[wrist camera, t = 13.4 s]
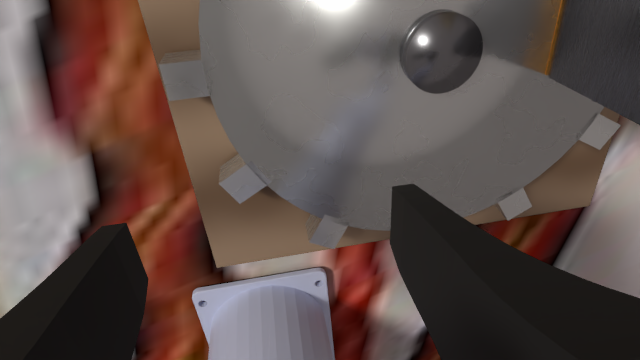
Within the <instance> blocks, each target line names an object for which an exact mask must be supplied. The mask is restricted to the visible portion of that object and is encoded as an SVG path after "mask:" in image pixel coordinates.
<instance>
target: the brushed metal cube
mask: <svg viewBox="0 0 640 360" xmlns="http://www.w3.org/2000/svg"><path fill="white" fill-rule="evenodd" d="M548 78H550V79H552V80H554V81H556V82H558V83H560V84H562V85H564V86H566V87H568V88H570V89H571V90H573V91H575V92H577V93H579V94H581V95H583V96H585V97H587V98H589V99H591V100H593V101H595V102H597V103H599V104H600V105H602V106H604V107H606V108H608V109H610V110H612V111H614V112H616V113H618V114H620V115H622V116H624V117H626V118H627V119H629V120H631V121H633V122H635V123H637V124H639V125H640V0H565V2H564V7H563V11H562V16H561V20H560V25H559V29H558V34H557V38H556V43H555V47H554V52H553V56H552V61H551V65H550V70H549V74H548Z"/></svg>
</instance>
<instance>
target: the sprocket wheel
mask: <svg viewBox="0 0 640 360" xmlns="http://www.w3.org/2000/svg"><path fill="white" fill-rule="evenodd" d="M564 2H565V0H200V5H199V23H198V24H199V37H200V50H191V51H183V52H174V53H165V55H164V56H163V58H162V60H161V61H160V63H159V68H160V71H161V75H162V78H163V82H164V85H165V89H166V92H167V96H168V99H169V101H175V100H182V99H190V98H198V97H206V96H210V97H211V100H212V103H213V106H214V108H215V111H216V114H217V117H218V119H219V121H220V123H221V125H222V127H223V129H224V130H225V132H226V134H227V136H228V138H229V140H230V142H231V143H232V145H233V146H234V148H235V149H236V151H237V152H238V153H239V154H237V155H236V156H234V157H233V158H232V159H230V160H229V161H228V162H226V163H225V164H223V165H222V166H221V167H220V176H219V185H220V186H222V187H223V188H224V189H225V190H226V191H227V192H228V193H229V194H230V195H231V196H232V197H233V198H234V199H235V200H236V201H237V202H238V203H239V204H241V203H242V202H244V201H245V200H247V199H248V198H249V197H251V196H252V195H254V194H255V193H257V192H258V191H260V190H261V189H263V188H264V187H265V186H268V187H270V188H271V189H272V190H273V191H274V192H276V193H277V194H278V195H279V196H280V197H282V198H284V199H285V200H287V201H288V202H290V203H292V204H293V205H295V206H296V207H298V208H300V209H302V210H304V211H306V212H308V213H310V216H309V218H308V220H307V222H306V229H307V234H308V239H309V243H313V244H317V245H320V246H324V247H328V248H332V249H334V248H335V247H336V245H337V243H338V242H339V240H340V238H341V237H342V235H343V234H344V232H345V230H346V229H347V227H348V226H350V227H355V228H360V229H368V230H382V231H390V227H391V202H392V186H399V185H407V184H415V185H416V186H418V187H419V188H421V189H422V190H424V191H425V192H426V193H428V194H429V195H431V196H432V197H434V198H435V199H436V200H438V201H439V202H441V203H442V204H444V205H445V206H446V207H448V208H449V209H451V210H452V211H454V212H455V213H457V214H458V215H460V216H461V217H466V216H469V215H472V214H475V213H477V212H479V211H481V210H483V209H485V208H488V207H490V206H492V205H494V206H495V207H496V208H497V209H498V210H499V211H500V212H501V214H502V215H503V216H504V217H505V218H506V219H507V220H510V219H512V218H514V217H515V216H517V215H519V214H520V213H522V212H524V211H526V210H527V209H529V208H531V207H532V205H531V203H530V201H529V199H528V197H527V195H526V192H525V190H524V188H523V187H524V186H526V185H527V184H529V183H530V182H532V181H533V180H534V179H536V178H537V177H539V176H540V175H541V174H542V173H543V172H545V171H546V170H547V169H548V168H549V167H551V166H552V165H553V164H554V163H555V162H557V161H558V160H559V159H560V158H561V157H562V156H563V155H564V154H565V153H566V152H567V151H568V150H569V149H570V148H571V147H572V146H573V145H574V144H575V143H576V142H577V141H578V140H580V141H582V142H584V143H586V144H589V145H591V146H593V147H595V148H597V149H599V150H600V149H601V148H602V147H603V146H604V145H605V143H606V142H607V141H608V140H609V139H610V138H611V136H612V135H613V134H614V133H615V132H616V131H617V129H618V128H619V127H620V126H621V125H619V124H617V123H616V122H614V121H612V120H610V119H608V118H606V117H605V116H603V115H601V114H600V113H601V111H602V110H603V108H604V106H602V105H600V104H599V103H597V102H595V101H593V100H591V99H589V98H587V97H585V96H583V95H581V94H579V93H577V92H575V91H573V90H571V89H570V88H568V87H566V86H564V85H562V84H560V83H558V82H556V81H554V80H552V79H550V78H548V74H549V70H550V65H551V61H552V56H553V52H554V47H555V43H556V38H557V34H558V29H559V25H560V20H561V16H562V11H563V7H564Z"/></svg>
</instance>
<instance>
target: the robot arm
mask: <svg viewBox="0 0 640 360" xmlns="http://www.w3.org/2000/svg"><path fill="white" fill-rule="evenodd" d="M390 245H391V248H392V251H393V254H394V257H395V260H396V263H397V266H398V269H399V271H400V274H401V276H402V278H403V280H404V282H405V285H406V287H407V289H408V291H409V293H410V295H411V297H412V299H413V301H414V303H415V305H416V307H417V309H418V311H419V313H420V315H421V317H422V319H423V321H424V323H425V325H426V327H427V329H428V331H429V333H430V335H431V338H432V340H433V342H434V344H435V346H436V349H437V351H438V353H439V355H440V358H441V360H640V298H637V297H634V296H631V295H628V294H625V293H622V292H619V291H616V290H613V289H610V288H607V287H604V286H601V285H599V284H596V283H593V282H590V281H588V280H585V279H582V278H580V277H577V276H575V275H573V274H570V273H568V272H565V271H563V270H560V269H558V268H555V267H553V266H551V265H549V264H546V263H544V262H542V261H540V260H538V259H536V258H534V257H532V256H530V255H528V254H526V253H523V252H521V251H519V250H517V249H515V248H513V247H512V246H510V245H508V244H506V243H504V242H502V241H501V240H499V239H497V238H495V237H494V236H492V235H490V234H489V233H487V232H485V231H483V230H482V229H480V228H478V227H477V226H475V225H474V224H472V223H470V222H469V221H467V220H466V219H464V218H463V217H461V216H460V215H458V214H457V213H455V212H454V211H452V210H451V209H449V208H448V207H446V206H445V205H444V204H442V203H441V202H439V201H438V200H436V199H435V198H434V197H432V196H431V195H429V194H428V193H426V192H425V191H424V190H422V189H421V188H419V187H418V186H416V185H415V184H407V185H399V186H392V202H391V227H390ZM316 281H320V282H316ZM147 286H148V277H147V274H146V272H145V269H144V267H143V264H142V262H141V259H140V257H139V254H138V252H137V249H136V246H135V244H134V241H133V239H132V236H131V234H130V231H129V229H128V226H127V223H122V224H115V225H108V226H102V227H101V228H100V229H98V230H97V231H96V232H95V233H94V234H93V235H92V236H91V237H90V238H88V239H87V240H86V241H85V242H84V243H83V244H82V245H81V246H80V247H79V248H78V249H77V250H76V251H75V252H74V253H73V254H72V255H71V256H70V257H69V258H68V259H66V260H65V261H64V262H63V263H62V264H61V265H60V266H59V267H58V268H57V269H56V270H55V271H54V272H53V273H52V274H51V275H49V276H48V277H47V278H46V279H45V280H44V281H43V282H42V283H41V284H40V285H39V286H37V287H36V288H35V289H34V290H33V291H32V292H31V293H29V294H28V295H27V296H26V297H25V298H24V299H23V300H21V301H20V302H19V303H18V304H17V305H16V306H15V307H13V308H12V309H11V310H10V311H9V312H8V313H7V314H5V315H4V316H3V317H2V318H0V360H131V359H132V355H133V351H134V348H135V344H136V341H137V337H138V333H139V330H140V326H141V322H142V319H143V315H144V309H145V302H146V294H147ZM192 300H193V302H194V305H195V308H196V311H197V314H198V316H199V319H200V322H201V325H202V327H203V330H204V333H205V336H206V339H207V341H208V344H209V356H208V360H335V356H334V346H333V336H332V326H331V317H330V307H329V297H328V287H327V277H326V272H325V270H324V269H323V268H312V269H306V270H300V271H295V272H289V273H283V274H277V275H271V276H265V277H259V278H253V279H247V280H242V281H236V282H230V283H224V284H218V285H212V286H206V287H200V288H197V289H195V290H194V291H193V294H192ZM201 301H205V302H201Z"/></svg>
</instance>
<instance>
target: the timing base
mask: <svg viewBox="0 0 640 360" xmlns="http://www.w3.org/2000/svg"><path fill="white" fill-rule="evenodd" d="M138 2H139V6H140V9H141V12H142V16H143V19H144V22H145V26H146V29H147V33H148V36H149V39H150V43H151V46H152V50H153V53H154V56H155V60H156V63H157V66H158V70H159V73H160V77H161V80H162V83H163V87H164V90H165V94H166V97H167V100H168V104H169V107H170V110H171V114H172V117H173V121H174V124H175V127H176V131H177V134H178V137H179V141H180V144H181V148H182V151H183V154H184V158H185V161H186V165H187V168H188V171H189V175H190V178H191V181H192V185H193V188H194V192H195V195H196V198H197V202H198V205H199V209H200V212H201V215H202V219H203V222H204V225H205V229H206V232H207V236H208V239H209V242H210V246H211V249H212V253H213V256H214V259H215V263H216V266H217V268H218V267H224V266H230V265H236V264H242V263H248V262H254V261H260V260H266V259H272V258H278V257H284V256H290V255H296V254H302V253H308V252H314V251H320V250H326V249H332V248H328V247H324V246H320V245H317V244H313V243H309V239H308V234H307V229H306V222H307V220H308V218H309V216H310V213H308V212H306V211H304V210H302V209H300V208H298V207H296V206H295V205H293V204H292V203H290V202H288V201H287V200H285V199H284V198H282V197H280V196H279V195H278V194H277V193H276V192H274V191H273V190H272V189H271V188H270V187H268V186H265V187H264V188H263V189H261V190H260V191H258V192H257V193H255V194H254V195H252V196H251V197H249V198H248V199H247V200H245V201H244V202H242V203H241V204H239V203H238V202H237V201H236V200H235V199H234V198H233V197H232V196H231V195H230V194H229V193H228V192H227V191H226V190H225V189H224V188H223V187H222V186H220V185H219V176H220V167H221V166H222V165H223V164H225V163H226V162H228V161H229V160H230V159H232V158H233V157H234V156H236V155H237V154H239V153H238V152H237V151H236V149H235V148H234V146H233V145H232V143H231V142H230V140H229V138H228V136H227V134H226V132H225V130H224V129H223V127H222V125H221V123H220V121H219V119H218V117H217V114H216V111H215V108H214V106H213V103H212V100H211V97H210V96H206V97H198V98H190V99H182V100H175V101H169V99H168V96H167V92H166V89H165V85H164V82H163V78H162V75H161V71H160V68H159V63H160V61H161V60H162V58H163V56H164V55H165V53H174V52H183V51H191V50H200V37H199V24H198V23H199V5H200V0H138ZM600 114H601V115H603V116H605V117H606V118H608V119H610V120H612V121H614V122H616V123H617V122H618V119H619V116H620V114H618V113H616V112H614V111H612V110H610V109H608V108H606V107H604V108H603V110H602V111H601V113H600ZM612 137H613V135H612V136H611V138H610V139H609V140H608V141H607V142H606V143H605V145H604V146H603V147H602V148H601V149H600V150H599V149H597V148H595V147H593V146H591V145H589V144H586V143H584V142H582V141H580V140H578V141H577V142H576V143H575V144H574V145H573V146H572V147H571V148H570V149H569V150H568V151H567V152H566V153H565V154H564V155H563V156H562V157H561V158H560V159H559V160H558V161H557V162H555V163H554V164H553V165H552V166H551V167H549V168H548V169H547V170H546V171H545V172H543V173H542V174H541V175H540V176H539V177H537V178H536V179H534V180H533V181H532V182H530V183H529V184H527V185H526V186H524V187H523V188H524V190H525V192H526V195H527V197H528V199H529V201H530V203H531V205H532V207H531V208H529V209H527V210H526V211H524V212H522V213H520V214H519V215H517V216H515V217H514V218H519V217H525V216H531V215H537V214H543V213H549V212H555V211H561V210H567V209H573V208H579V207H585V206H590V203H591V200H592V197H593V194H594V191H595V188H596V185H597V182H598V179H599V176H600V173H601V170H602V167H603V164H604V161H605V158H606V155H607V152H608V149H609V146H610V143H611V140H612ZM463 218H464V219H466V220H467V221H469V222H470V223H472V224H474V225H477V224H483V223H489V222H495V221H501V220H507V219H506V218H505V217H504V216H503V215H502V214H501V212H500V211H499V210H498V209H497V208H496V207H495V206H494V205H492V206H490V207H488V208H485V209H483V210H481V211H479V212H477V213H475V214H472V215H469V216H466V217H463ZM512 219H513V218H512ZM387 239H390V231H382V230H368V229H360V228H355V227H350V226H348V227H347V229H346V230H345V232H344V234H343V235H342V237H341V238H340V240H339V242H338V243H337V245H336V247H335V248H338V247H344V246H350V245H356V244H362V243H368V242H374V241H380V240H387Z"/></svg>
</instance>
